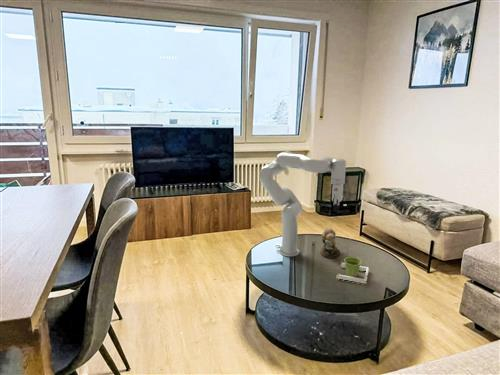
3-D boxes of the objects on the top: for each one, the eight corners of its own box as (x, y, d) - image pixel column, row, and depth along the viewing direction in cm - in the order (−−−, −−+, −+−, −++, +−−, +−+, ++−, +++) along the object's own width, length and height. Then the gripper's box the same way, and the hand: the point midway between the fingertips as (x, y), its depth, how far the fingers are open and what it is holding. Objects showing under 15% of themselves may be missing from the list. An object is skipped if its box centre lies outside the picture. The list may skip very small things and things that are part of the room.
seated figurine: (340, 260, 207) (341, 234, 202) (320, 258, 209) (321, 233, 205) (338, 247, 224) (340, 223, 219) (320, 246, 226) (321, 222, 222)
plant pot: (363, 274, 190) (364, 260, 187) (355, 281, 183) (356, 266, 181) (348, 269, 196) (349, 255, 194) (339, 275, 190) (340, 261, 187)
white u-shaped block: (336, 279, 186) (336, 273, 185) (340, 266, 199) (341, 261, 198) (365, 284, 180) (366, 279, 179) (368, 271, 193) (368, 266, 192)
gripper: (342, 184, 184) (340, 216, 189) (346, 178, 197) (344, 208, 202) (328, 183, 187) (327, 214, 191) (333, 177, 200) (331, 206, 205)
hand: (336, 211), depth 197 cm, fingers closed
